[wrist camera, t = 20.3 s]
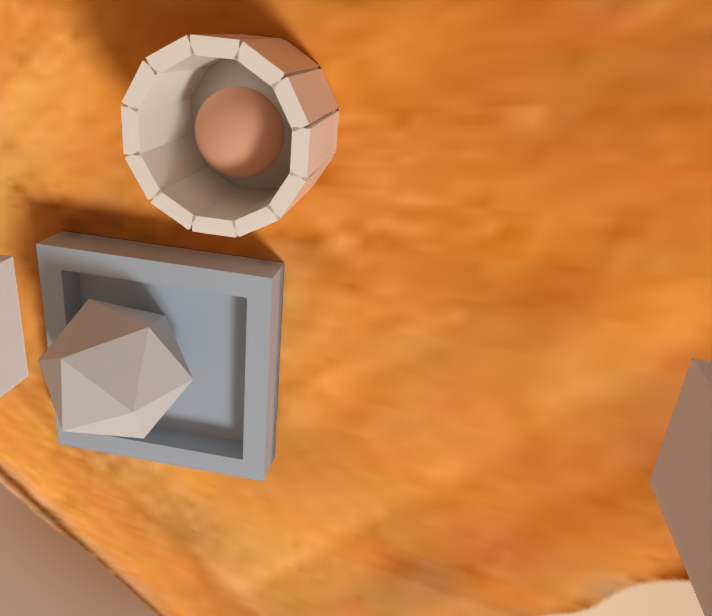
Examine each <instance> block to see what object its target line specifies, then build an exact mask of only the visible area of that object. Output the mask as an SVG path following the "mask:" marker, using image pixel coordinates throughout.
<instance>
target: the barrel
mask: <svg viewBox="0 0 712 616" xmlns="http://www.w3.org/2000/svg"><path fill="white" fill-rule="evenodd" d="M146 59H147V60H143V61H142V63H141V65H140V67H139V69H138V71H137V73H136V75H135V77H134V79H133V81H132V83H131V85H130V87H129V89H128V91H127V93H126V95H125V97H124V99H123V100H122V102H123V103H124V104H125V105H124V106H121V116H122V134H123V153H124V154H128V155H130V156H128V157H126V158H125V159H126V161H127V163H128V165H129V167H130V168H131V170H132V172H133V174H134V175H135V177H136V179H137V181H138V183H139V184H140V186H141V188H142V190H143V192H144V193H145V195H146V197H147V199H148V200H149V199H151V198H153V197H154V199H153V201H152V202H151V204H153V205H154V206H156V207H157V208H158V209H160V210H161V211H163V212H164V213H165V214H167V215H168V216H170V217H171V218H172V219H174V220H175V221H177V222H178V223H179V224H181V225H182V226H184V227H185V228H186V229H188V230H189V229H191V228H192V232H199V233H206V234H214V235H221V236H228V237H236V236H239V237H240V236H243V235H245V234H248V233H250V232H252V231H255V230H257V229H259V228H262V227H264V226H266V225H269V224H271V223H273V222H276V221H278V220H279V219H280V218H282V217H283V216H284V215H285V214H286V213H287V212H288V211H289V210H290V208H291V207H292V206H293V205H294V204H295V203H296V202H297V201H298V200H299V199H300V198H301V197H302V196H303V195H304V194H305V193H306V192H307V191H308V190H309V189H310V188H311V187H312V186H313V185H314V184H315V183H316V181H317V180H318V178H319V177H320V175H321V174H322V173H323V171H324V170H325V168H326V167H327V165H328V164H329V162H330V161H331V159H332V158H333V157H334V155H335V154H334V153H335V152H336V146H337V134H338V121H339V111H337V108H338V105H337V102H336V100H335V98H334V95H333V93H332V91H331V89H330V86H329V84H328V82H327V80H326V77H325V75H324V73H323V70H322V69H319V68H318V67H319V65H318V64H317V63H315V62H314V61H313V60H312V59H310V58H309V57H308V56H306V55H305V54H304V53H303V52H301V51H300V50H299V49H297V48H296V47H295V46H293V45H292V44H291V43H290V42H288V41H287V40H283V38H274V37H265V36H255V35H246V34H190V35H185V36H184V37H182V38H180V39H178V40H176V41H174V42H173V43H171V44H169V45H167V46H165V47H164V48H162V49H160V50H158V51H156V52H154V53H153V54H151V55H149V56H147V57H146ZM234 86H238V87H247V88H251V89H254V90H256V91H258V92H260V93H262V94H263V95H265V96H266V97H267V98H268V99H269V100H270V101H271V102H272V103H273V104H274V105H275V107H276V108H277V110H278V112H279V114H280V116H281V119H282V122H283V127H284V142H283V146H282V149H281V152H280V154H279V156H278V158H277V159H276V160H275V162H274V163H273V164H272V165H271V166H270V167H269V168H268V169H266V170H265V171H263V172H261V173H260V174H257V175H254V176H250V177H233V176H229V175H226V174H224V173H222V172H220V171H218V170H216V169H215V168H213V167H212V166H211V165H210V164H209V163H208V162H207V161H206V160H205V158H204V157H203V155H202V154H201V152H200V150H199V147H198V145H197V142H196V137H195V123H196V118H197V115H198V112H199V110H200V108H201V106H202V105H203V103H204V102H205V101H206V100H207V99H208V98H209V97H210V96H211V95H212V94H214V93H215V92H217V91H219V90H222V89H224V88H228V87H234Z"/></svg>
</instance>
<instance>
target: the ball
mask: <svg viewBox="0 0 712 616" xmlns="http://www.w3.org/2000/svg"><path fill="white" fill-rule="evenodd" d="M195 137H196V142H197V145H198V147H199V150H200V152H201V154H202V155H203V157H204V158H205V160H206V161H207V162H208V163H209V164H210V165H211V166H212V167H213V168H215V169H216V170H218V171H220V172H222V173H224V174H226V175H229V176H233V177H250V176H254V175H257V174H260V173H261V172H263V171H265V170H266V169H268V168H269V167H270V166H271V165H272V164H273V163H274V162H275V160H276V159H277V158H278V156H279V154H280V152H281V149H282V146H283V142H284V127H283V122H282V119H281V116H280V114H279V112H278V110H277V108H276V107H275V105H274V104H273V103H272V102H271V101H270V100H269V99H268V98H267V97H266V96H265V95H263V94H262V93H260V92H258V91H256V90H254V89H251V88H247V87H238V86H234V87H228V88H224V89H222V90H219V91H217V92H215V93H214V94H212V95H211V96H210V97H209V98H208V99H207V100H206V101H205V102H204V103H203V105H202V106H201V108H200V110H199V112H198V115H197V118H196V123H195Z"/></svg>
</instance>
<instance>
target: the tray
mask: <svg viewBox="0 0 712 616" xmlns="http://www.w3.org/2000/svg"><path fill="white" fill-rule="evenodd" d="M36 251H37V259H38V268H39V276H40V285H41V294H42V302H43V311H44V320H45V328H46V337H47V346H48V348H49V347H50V345H51V344H52V343H53V342H54V341H55V339H56V338H57V337H58V336H59V334H60V333H61V332H62V331H63V330H64V328H65V327H66V326H67V325H68V324H69V322H70V321H71V320H72V319H73V317H74V316H75V315H76V314H77V313H78V311H79V310H80V309H81V308H82V307H83V305H84V304H85V303H86V302H87V300H88V299H92V300H97V301H101V302H106V303H111V304H115V305H120V306H125V307H129V308H134V309H138V310H143V311H148V312H152V313H157V314H161V315H165V316H166V318H167V320H168V323H169V325H170V327H171V330H172V332H173V334H174V336H175V339H176V341H177V343H178V345H179V348H180V350H181V352H182V355H183V357H184V359H185V361H186V364H187V366H188V368H189V370H190V373H191V375H192V377H193V380H192V381H191V383H190V384H189V385H188V386H187V387H186V389H185V390H184V391H183V392H182V393H181V395H180V396H179V397H178V398H177V399H176V401H175V402H174V403H173V404H172V405H171V406H170V408H169V409H168V410H167V411H166V412H165V414H164V415H163V416H162V417H161V418H160V420H159V421H158V422H157V423H156V424H155V426H154V427H153V428H152V429H151V430H150V432H149V433H148V434H147V435H146V436H145V438H133V437H122V436H111V435H100V434H88V433H77V432H66V431H62V428H61V426H60V423H59V420H58V417H57V414H56V411H55V415H56V424H57V432H58V441H59V444H60V445H66V446H71V447H77V448H82V449H88V450H93V451H99V452H104V453H110V454H115V455H121V456H126V457H132V458H137V459H143V460H148V461H154V462H159V463H165V464H170V465H176V466H182V467H187V468H193V469H198V470H204V471H209V472H215V473H220V474H226V475H231V476H237V477H242V478H248V479H253V480H259V481H264V479H265V477H266V475H267V472H268V470H269V468H270V466H271V464H272V461H273V459H274V457H275V438H276V419H277V399H278V380H279V360H280V341H281V321H282V301H283V282H284V263H282V262H275V261H268V260H261V259H254V258H247V257H240V256H233V255H226V254H219V253H212V252H206V251H199V250H192V249H185V248H178V247H171V246H164V245H157V244H150V243H143V242H136V241H129V240H122V239H115V238H108V237H101V236H95V235H88V234H81V233H74V232H67V231H60V232H58V233H56V234H54V235H52V236H50V237H48V238H46V239H44V240H42V241H40V242H38V243H36Z"/></svg>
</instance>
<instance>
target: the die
mask: <svg viewBox="0 0 712 616" xmlns="http://www.w3.org/2000/svg"><path fill="white" fill-rule="evenodd" d="M38 361H39V364H40V367H41V370H42V373H43V376H44V379H45V382H46V385H47V388H48V390H49V393H50V396H51V399H52V402H53V405H54V408H55V411H56V414H57V417H58V420H59V423H60V426H61V428H62V431H66V432H77V433H88V434H100V435H111V436H122V437H133V438H145V436H146V435H147V434H148V433H149V432H150V430H151V429H152V428H153V427H154V426H155V424H156V423H157V422H158V421H159V420H160V418H161V417H162V416H163V415H164V414H165V412H166V411H167V410H168V409H169V408H170V406H171V405H172V404H173V403H174V402H175V401H176V399H177V398H178V397H179V396H180V395H181V393H182V392H183V391H184V390H185V389H186V387H187V386H188V385H189V384H190V383H191V381H192V380H193V377H192V375H191V373H190V370H189V368H188V366H187V364H186V361H185V359H184V357H183V355H182V352H181V350H180V348H179V345H178V343H177V341H176V339H175V336H174V334H173V332H172V330H171V327H170V325H169V323H168V320H167V318H166V316H165V315H161V314H157V313H152V312H148V311H143V310H138V309H134V308H129V307H125V306H120V305H115V304H111V303H106V302H101V301H97V300H92V299H88V300H87V302H86V303H85V304H84V305H83V307H82V308H81V309H80V310H79V311H78V313H77V314H76V315H75V316H74V317H73V319H72V320H71V321H70V322H69V324H68V325H67V326H66V327H65V328H64V330H63V331H62V332H61V333H60V334H59V336H58V337H57V338H56V339H55V341H54V342H53V343H52V344H51V345H50V347H49V348H48V349H47V350H46V351H45V353H44V354H43V355H42V356H41V358H40V359H39V360H38Z"/></svg>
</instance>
